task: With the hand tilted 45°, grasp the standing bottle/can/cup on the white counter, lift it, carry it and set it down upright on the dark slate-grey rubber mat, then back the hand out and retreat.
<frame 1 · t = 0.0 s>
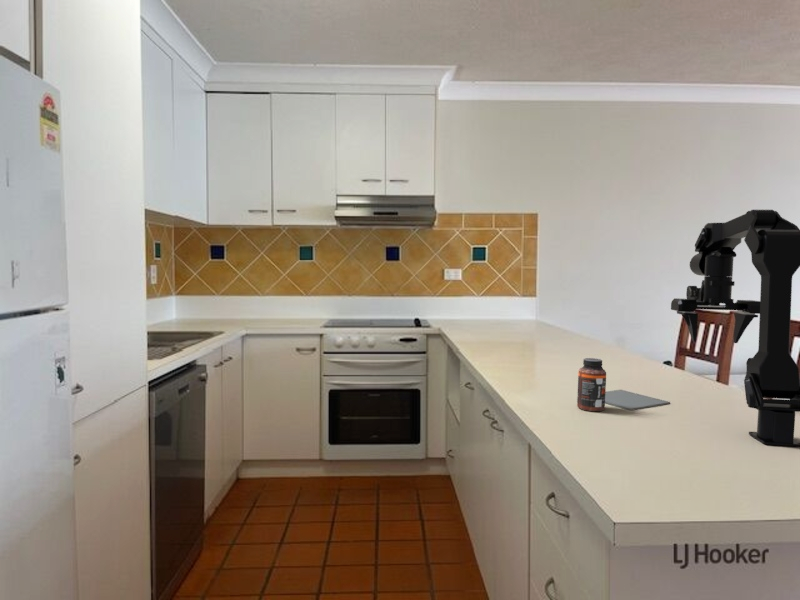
hand: (714, 342, 130), 15 cm above the countertop, tool pointing down, fingers open, 9 cm apart
supplement bottle: (590, 409, 124), on the countertop
mat: (625, 400, 132), on the countertop
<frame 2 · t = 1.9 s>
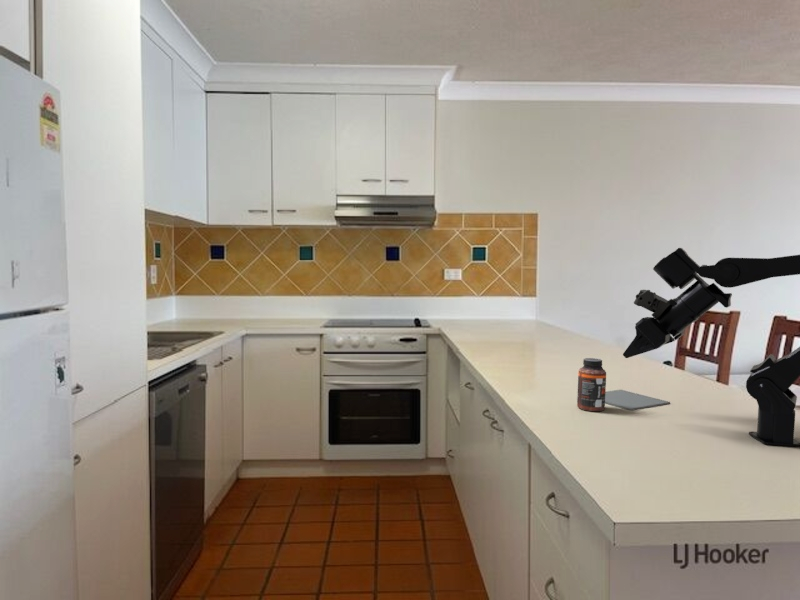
hand: (630, 353, 118), 13 cm above the countertop, tool tilted 45°, fingers open, 9 cm apart
nothing on the countertop moved.
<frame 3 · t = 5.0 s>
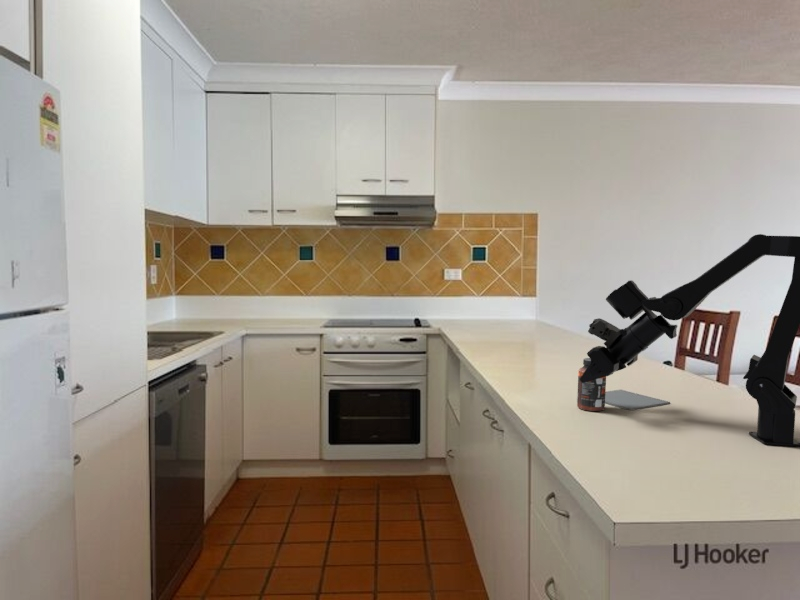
hand: (585, 379, 124), 7 cm above the countertop, tool tilted 45°, fingers closed on supplement bottle, 6 cm apart
supplement bottle: (590, 409, 124), on the countertop, touching gripper
when the fingers open (8 cm above the countertop, at t = 9.9 s): supplement bottle stays where it is, resting on mat.
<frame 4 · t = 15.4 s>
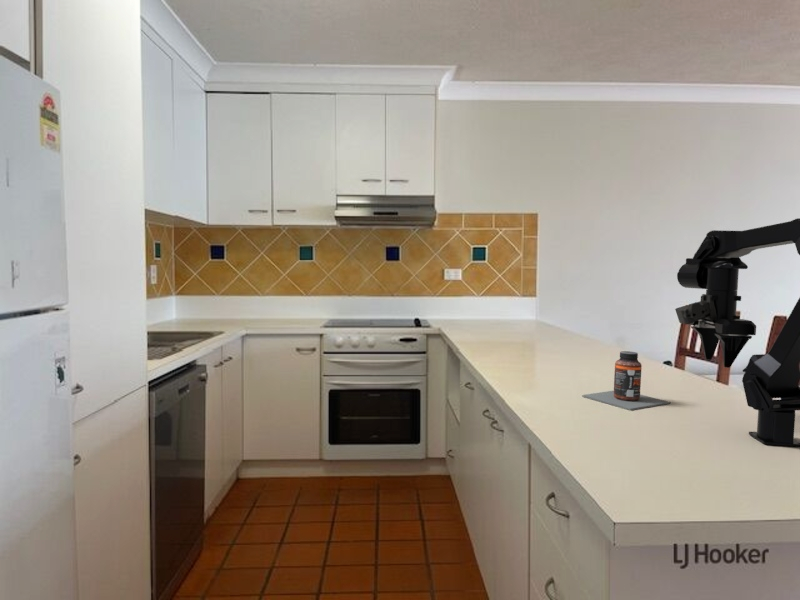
hand: (717, 363, 117), 12 cm above the countertop, tool pointing down, fingers open, 9 cm apart
supplement bottle: (626, 399, 132), resting on mat
at the end: supplement bottle inside the target area on the mat (0.3 cm from its centre), point 0.2 cm above the mat's base; supplement bottle tilted 0°; the gripper is holding nothing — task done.
